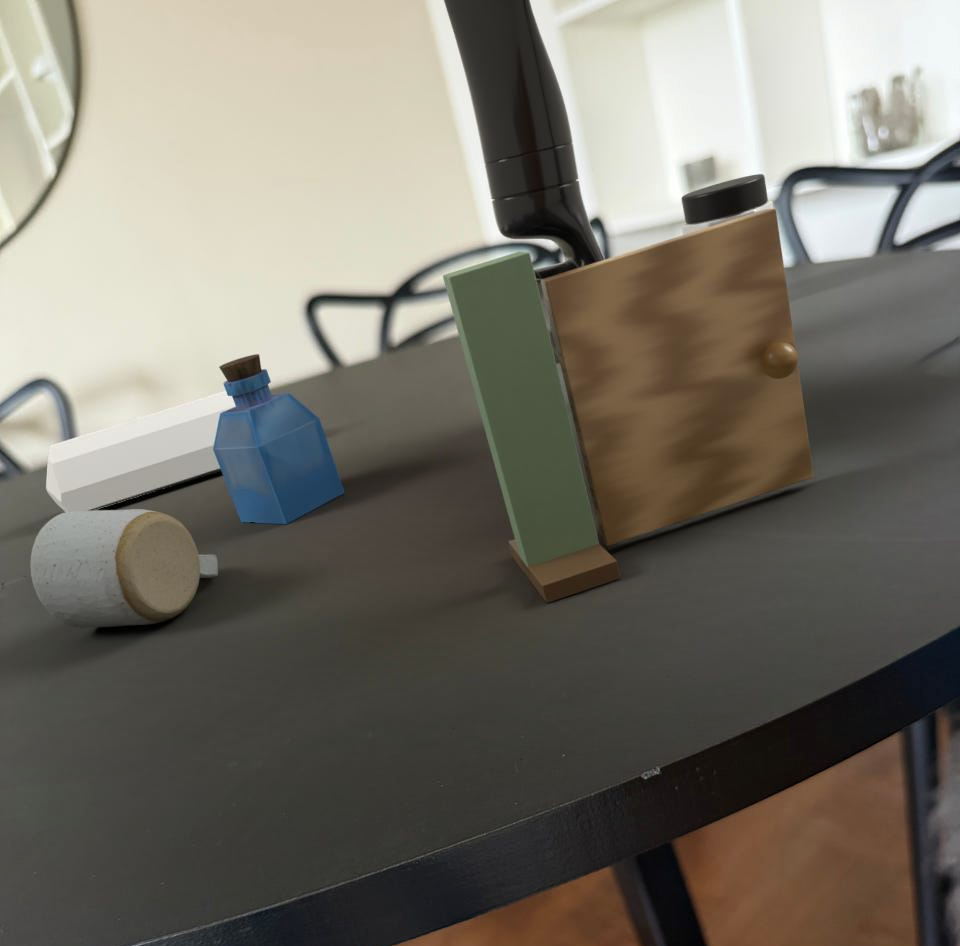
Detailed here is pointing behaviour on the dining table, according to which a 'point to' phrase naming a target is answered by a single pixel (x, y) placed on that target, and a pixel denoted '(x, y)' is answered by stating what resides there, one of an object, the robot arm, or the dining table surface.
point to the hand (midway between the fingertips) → (718, 357)
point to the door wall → (528, 425)
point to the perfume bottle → (271, 449)
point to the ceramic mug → (116, 567)
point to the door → (682, 375)
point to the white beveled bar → (136, 455)
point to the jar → (724, 202)
